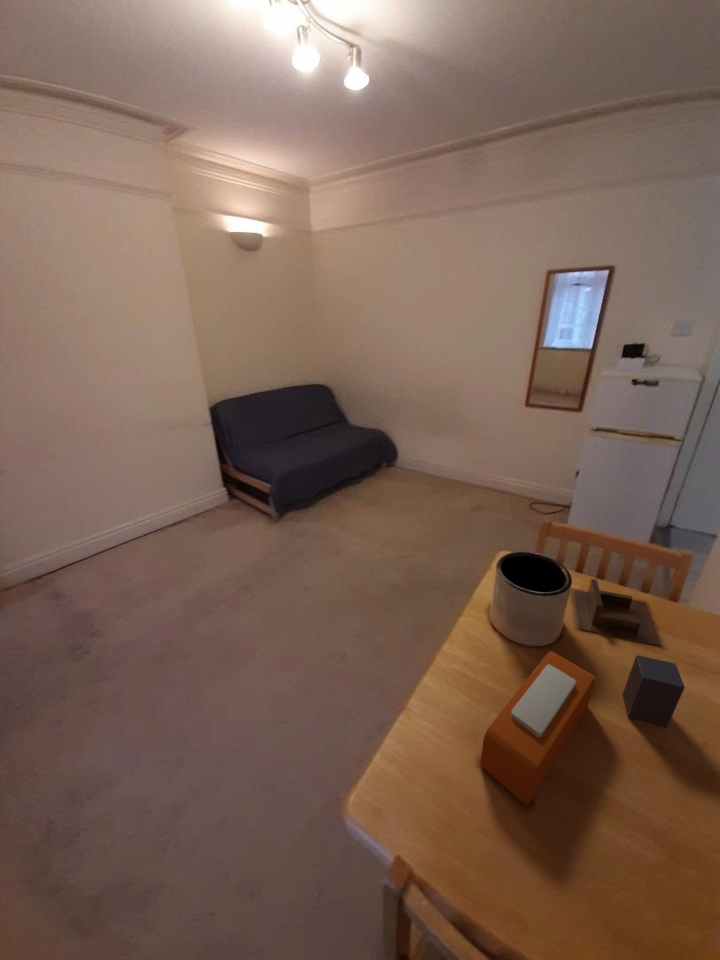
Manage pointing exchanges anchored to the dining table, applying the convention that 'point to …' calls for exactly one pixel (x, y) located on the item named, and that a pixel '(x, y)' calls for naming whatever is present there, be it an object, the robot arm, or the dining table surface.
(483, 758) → the alarm clock
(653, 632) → the brown holder on base
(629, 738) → the dining table surface
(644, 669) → the dark grey block
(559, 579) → the planter
